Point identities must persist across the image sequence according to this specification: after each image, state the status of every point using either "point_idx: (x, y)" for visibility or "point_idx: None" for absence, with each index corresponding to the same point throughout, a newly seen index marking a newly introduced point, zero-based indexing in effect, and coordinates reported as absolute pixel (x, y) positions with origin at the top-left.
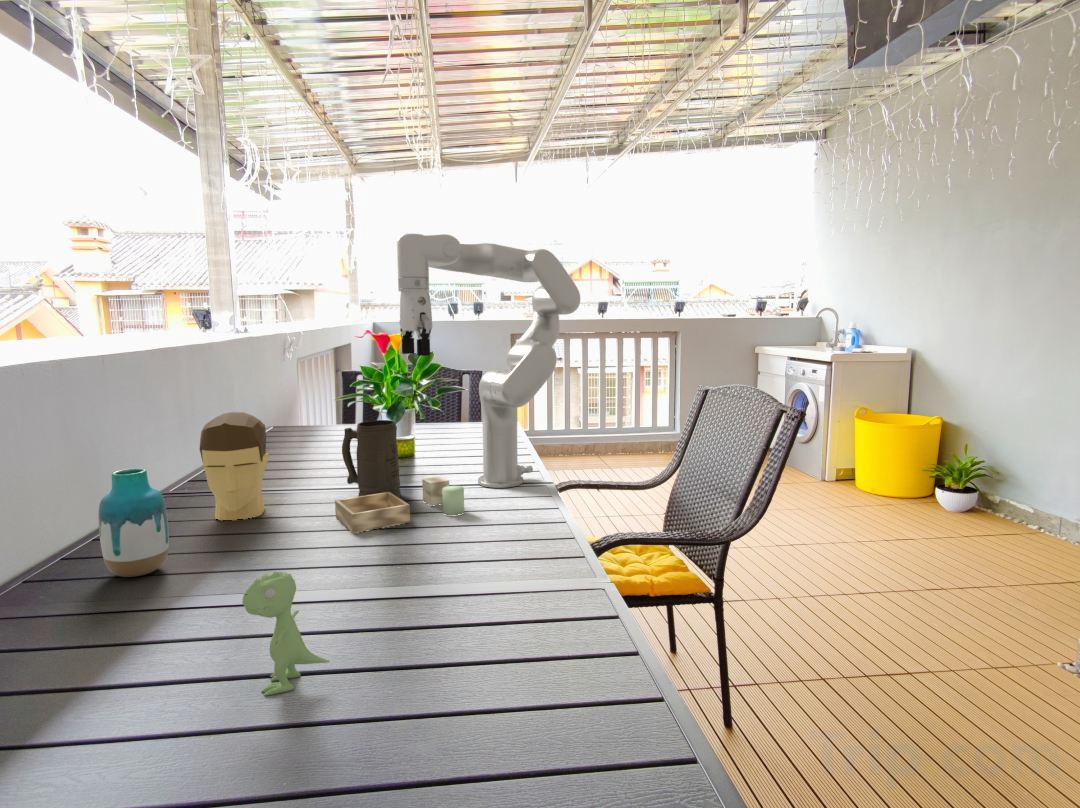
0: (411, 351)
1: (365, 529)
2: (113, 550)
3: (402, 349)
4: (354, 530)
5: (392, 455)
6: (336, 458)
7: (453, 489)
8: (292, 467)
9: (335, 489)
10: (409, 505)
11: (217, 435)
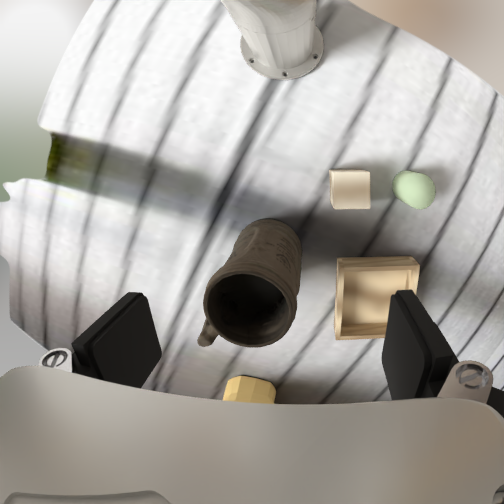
0: (145, 315)
1: None
2: None
3: (149, 371)
4: None
5: (291, 262)
6: (40, 239)
7: (425, 193)
8: (69, 299)
9: (191, 290)
10: (419, 265)
11: None
